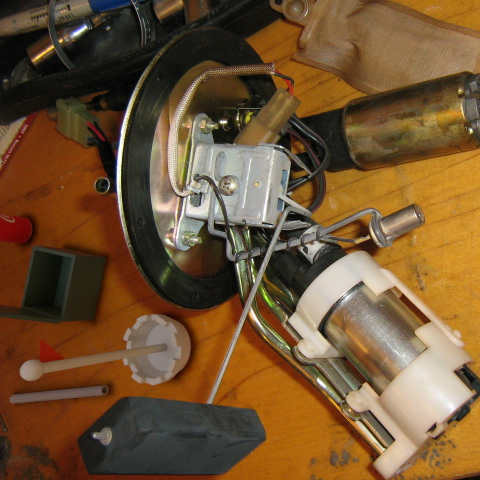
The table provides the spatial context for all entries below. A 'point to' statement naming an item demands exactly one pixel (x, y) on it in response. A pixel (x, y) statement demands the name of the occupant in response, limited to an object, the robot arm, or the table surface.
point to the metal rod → (60, 394)
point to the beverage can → (14, 229)
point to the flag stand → (128, 352)
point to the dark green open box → (63, 283)
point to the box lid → (25, 315)
